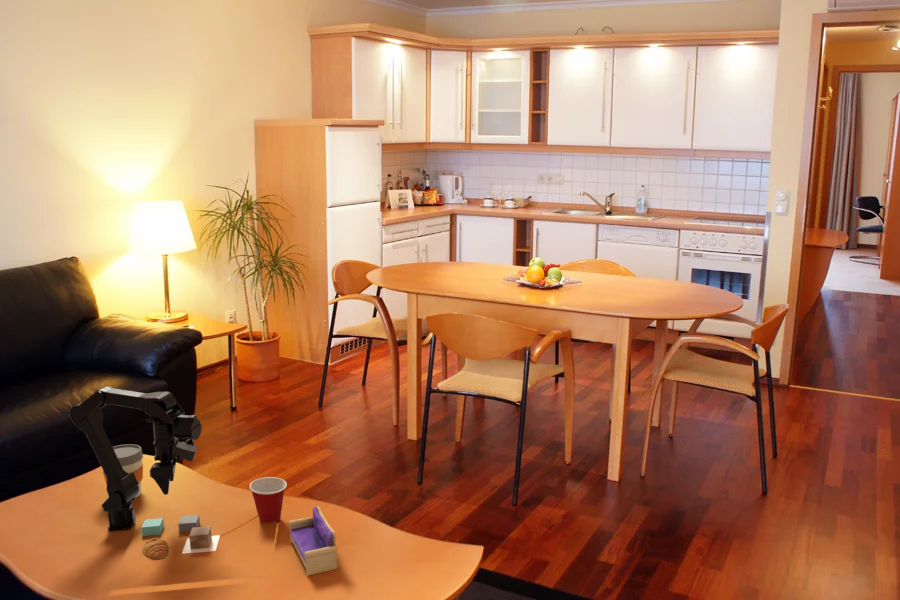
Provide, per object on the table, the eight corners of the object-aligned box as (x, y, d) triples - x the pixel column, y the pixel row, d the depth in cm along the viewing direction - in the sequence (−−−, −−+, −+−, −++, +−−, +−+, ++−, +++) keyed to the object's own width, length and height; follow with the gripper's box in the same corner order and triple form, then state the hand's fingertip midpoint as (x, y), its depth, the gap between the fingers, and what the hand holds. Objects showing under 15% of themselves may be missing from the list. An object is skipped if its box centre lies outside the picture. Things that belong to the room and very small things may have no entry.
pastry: (174, 560, 226) (172, 547, 226) (148, 567, 223) (146, 554, 222) (165, 546, 234) (164, 533, 233) (140, 553, 231) (139, 540, 230)
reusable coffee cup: (111, 488, 274) (106, 445, 271) (151, 485, 275) (146, 442, 272) (100, 505, 261) (94, 460, 258) (141, 502, 263) (136, 457, 260)
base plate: (182, 557, 227) (181, 553, 227) (187, 541, 236) (187, 538, 236) (215, 554, 228) (215, 550, 228) (220, 539, 237) (220, 535, 237)
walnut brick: (190, 549, 229) (189, 536, 228) (193, 540, 234) (192, 527, 233) (209, 547, 230) (207, 534, 229) (211, 539, 234) (210, 526, 234)
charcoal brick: (179, 536, 239) (178, 523, 239) (182, 528, 244) (181, 516, 243) (197, 535, 240) (196, 522, 239) (200, 527, 245) (199, 514, 244)
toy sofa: (289, 542, 234) (286, 508, 232) (319, 536, 237) (317, 502, 235) (306, 578, 215) (303, 541, 213) (339, 570, 218) (336, 534, 216)
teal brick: (142, 540, 238) (141, 527, 237) (146, 532, 243) (145, 519, 242) (160, 538, 239) (159, 525, 238) (164, 530, 243) (163, 518, 243)
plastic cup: (277, 532, 240) (274, 493, 238) (245, 527, 244) (241, 488, 241) (296, 515, 250) (293, 478, 248) (265, 511, 254) (262, 474, 251)
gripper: (189, 446, 230) (193, 499, 233) (198, 423, 248) (201, 472, 251) (147, 449, 228) (151, 502, 232) (159, 425, 247) (163, 475, 250)
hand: (168, 487), depth 241 cm, fingers open, 9 cm apart
